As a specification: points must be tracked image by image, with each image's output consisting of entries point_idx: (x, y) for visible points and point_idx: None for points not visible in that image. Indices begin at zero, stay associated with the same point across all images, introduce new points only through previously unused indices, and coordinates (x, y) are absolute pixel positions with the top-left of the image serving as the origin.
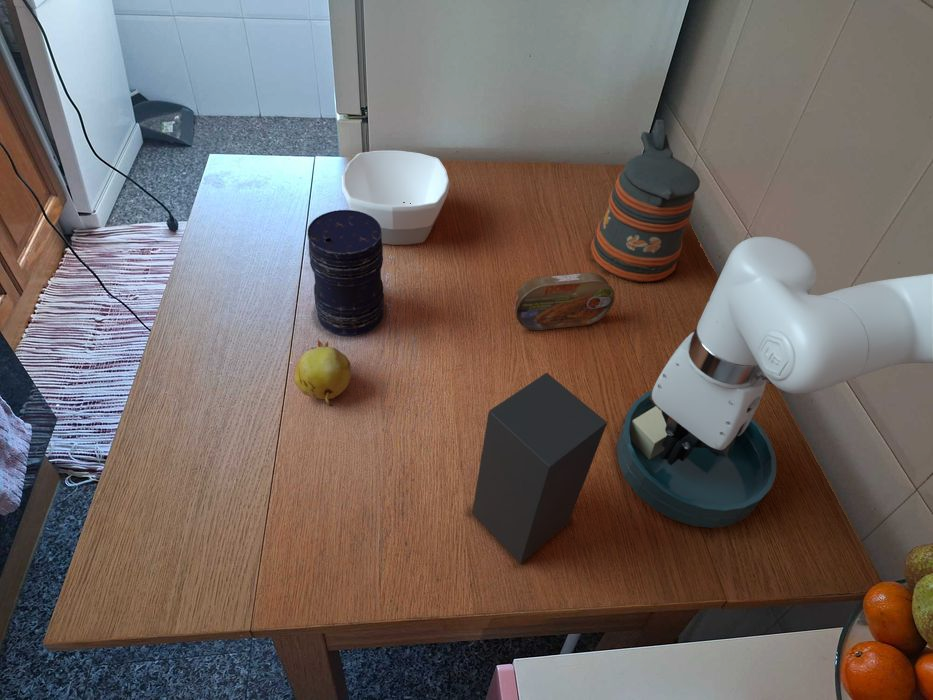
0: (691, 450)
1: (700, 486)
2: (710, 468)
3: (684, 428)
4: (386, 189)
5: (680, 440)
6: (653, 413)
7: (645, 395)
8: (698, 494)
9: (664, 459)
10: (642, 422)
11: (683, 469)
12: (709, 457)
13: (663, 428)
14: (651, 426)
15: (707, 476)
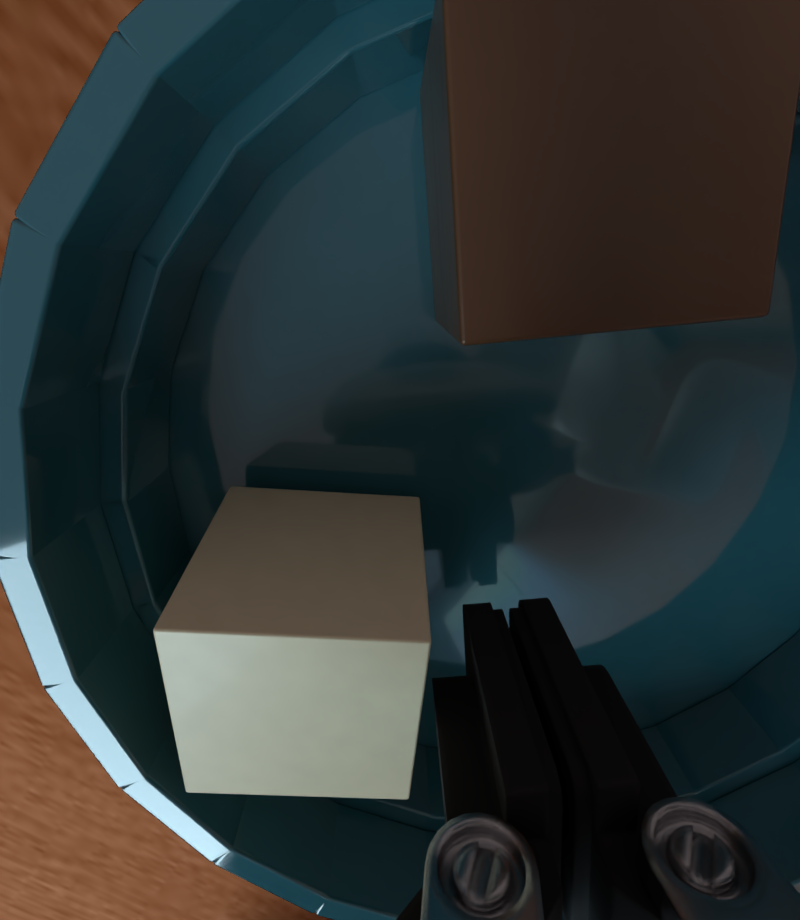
0: (626, 711)
1: (668, 539)
2: (648, 411)
3: (555, 916)
4: None
5: (579, 902)
6: (208, 688)
7: (15, 581)
8: (686, 583)
9: (448, 573)
10: (234, 766)
11: (550, 537)
12: (601, 351)
13: (357, 712)
14: (295, 754)
15: (662, 463)
